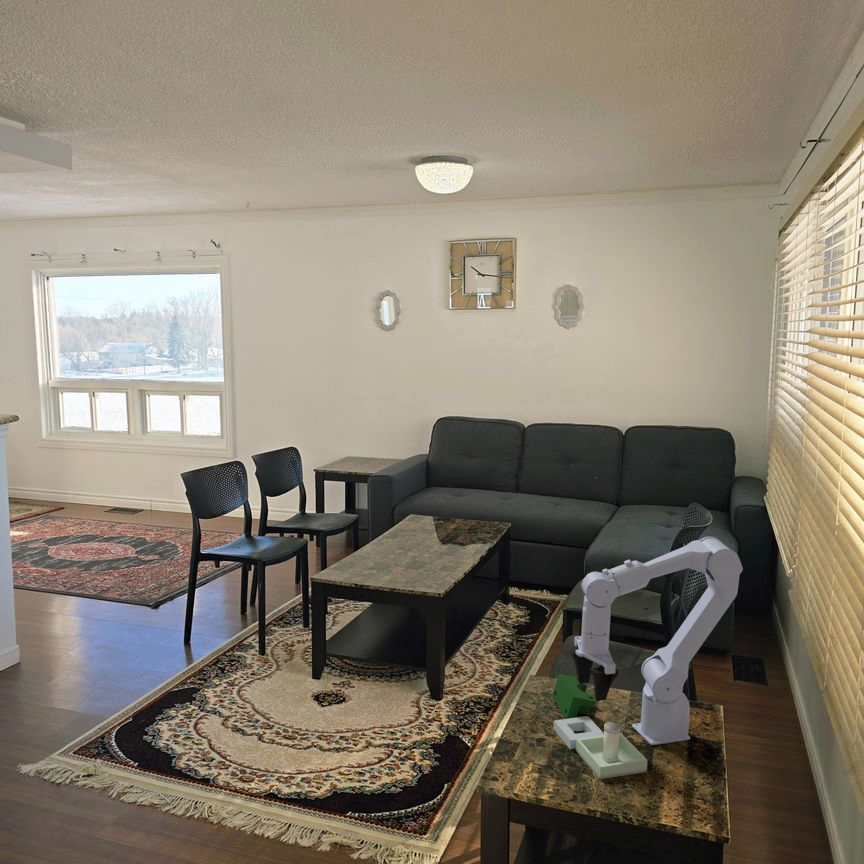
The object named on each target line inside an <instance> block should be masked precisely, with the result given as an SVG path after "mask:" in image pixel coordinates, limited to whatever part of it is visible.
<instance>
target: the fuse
mask: <svg viewBox="0 0 864 864" xmlns="http://www.w3.org/2000/svg"><path fill="white" fill-rule="evenodd" d="M603 733H604V742H603V754H602V759H603V760H604V761H606V762H608V763H616V762H618V751H619V736H620V733H621V726H620V725H619V723H616V722H614V721H613V722H612V721H607V722H605V723H604V726H603Z"/></svg>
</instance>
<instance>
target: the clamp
mask: <svg viewBox="0 0 864 864" xmlns="http://www.w3.org/2000/svg"><path fill="white" fill-rule="evenodd" d="M587 688H588V683H584V684H580V683H579V681H578V676H577V677H576V676H572V675H566V674H562V673H558V674H557V679H556V681H555V685H554V688H553V692H552V697H553V700H554V702H555V703H556V705H557V707H558V709H559V711H560V712H561V714H562V715H563V718H564V719H570V718H577V717H578V714H582V715H587V714H589V715H590V711H591V708H594V707H596V704H597V702H598V701H597V700H596V699H595V694H590V693H587V692H586V690H587Z"/></svg>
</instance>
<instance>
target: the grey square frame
mask: <svg viewBox="0 0 864 864" xmlns="http://www.w3.org/2000/svg"><path fill="white" fill-rule="evenodd" d="M553 731H554V732H555V731H556V732H555V733H556V734H557V735H558V737H559V738H560V739H561V740H562V741H563V743H564V744H565V745H566V746H567V747H568V749H569V750H573V749H574V750H576V739H581V738H589V737H596V736H603V735H604V731H602V729H600V727H598V725H596V723H595V722H594V721H593V720H592V719H591V718H590V717H589V716H588V715H585V716H579V717H578V716H577V717H576V718H570V719H568V718H563V719H555V720H553ZM574 731H576V732H580V733H576V732H574Z"/></svg>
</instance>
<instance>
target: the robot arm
mask: <svg viewBox="0 0 864 864" xmlns="http://www.w3.org/2000/svg"><path fill="white" fill-rule="evenodd" d="M686 569H690V570H693V571H696V572H699V573H702V574H704V576H705V578H706V582H707V588H706V589H705V591H704V593H703V594H702V595H701V597H700V598H699V599H698V601H697V603H695V605H694V607H693V608H692V609H691V611H690V613H689V614H688V615H687V616H686V618H685V620H684V621H683V622H682V624H681V625H680V627H679V628H678V629H677V631H676V632H675V633H674V635H673V637H672V638H671V639H670V641H669V643H668V644H667V645H666V646H664V647H661V648H658V649H657V650H656V652H655V653H654V654H653V655H652V656H649V657H648V658H646V659H645V660H644V661H643V663H642V664H641V669H640V671H641V675H642V677H643V679H644V680H645V684H644V686H643V689H642V699H641V700H642V701H641V713H640V714H641V715H640V722H637V723H632V724H631V726H632V728H633V729H634V730H635V731H636V732H637V733H638V734H639V735H640V736H641V737H642V738H643V739H644V740H645V741H646V742H647V743H648V744H649V745H651V746H657V745H662V744H663V745H664V744H669V743H675V742H683V741H688V740H689V741H690V739H691V736H690V735H689V728H690V713H691V706H690V702H689V699H688V697H687V696H686V694H685V693H684V692H683V691H684V684H685V682H686V681H687V680H688V677H689V665H690V662H691V661H692V660H693V659H694V658H693V657H694V656H696V654H697V653H698V651H699V649H701V647H702V645H703V644H704V642H705V641H706V640H707V638H708V637H709V636H710V634H711V633H712V632H713V630H714V628H715V627H716V626H717V625H718V623H719V621H720V620H721V618H722V617H723V616H724V614H726V612H727V610H728V608H730V606H731V604H732V603H733V601H735V599H736V597H737V595H738V590H739V582H740V575H741V573H742V572H743V570H744V568H743V565H742V562H741V559H740V557H739V555H738V553H736V551H734V550H732V549H730V548H729V547H728V546H727V545H725V544H724V543H723V542H722V541H721V540H720V539H719V538H718V537H715V536H704V537H703V538H701V539H697V540H693V541H692V540H691V541H690V542H689V543H687V544H686V545H684V546H682V547H680V548H678V549H675V550H673V551H670V552H668V553H665V554H662V555H661V556H657V557H656V558H654V559H651V560H649V561H646V562H644V563H643V562H641V561H638V560H632V561H631V559H627V560H625V561H623V564H620V565H617V566H615V567H613V568H610V569H608V568H604V569H602V570H601V571H602V572H600V571H591V572H589V573H587V574H586V576H585V577H584V578H583V579H582V582H581V583H580V588H581V590H582V593H583V594H584V596H583V606H582V617H581V619H582V620H581V635H577V636H574V640H573V641H574V644H573V645H574V646H575V647H576V648H574V649H570V650H569V653H570V655H571V657H572V660H573V662H574V666H575V670H576V675H577V678H578V681H579V683H580V684H584V683H586V684H589V683H590V681H591V680H590V679H591V676H592V680H593V686H594V691H593V692H594V696H595V699H596V700H597V702H600V701H606V700H607V697H608V695H609V691H610V689H611V686H612V684H613V682H614V681H615V680H616V678H617V677H618V675H619V672H620V671H619V670H618V668H617V664H616V663H615V662H614V661H613V658H612V655H611V652H610V650H609V649H610V648H609V647H610V646H609V645H610V630H611V629H610V627H611V613H612V612H611V607H612V603H613V602H614V601H615V599H616V598H617V597H621V596H623V595H625V594H629V593H632V592H635V591H637V590H640V589H644V588H646V587H647V586H648V584H649V582H650V581H651V579H654V578H659V577H662V576H665V575H668V574H671V573H674V572H675V573H676V572H679V571H682V570H686ZM593 663H596V664H597V665H598V667H593Z"/></svg>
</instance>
